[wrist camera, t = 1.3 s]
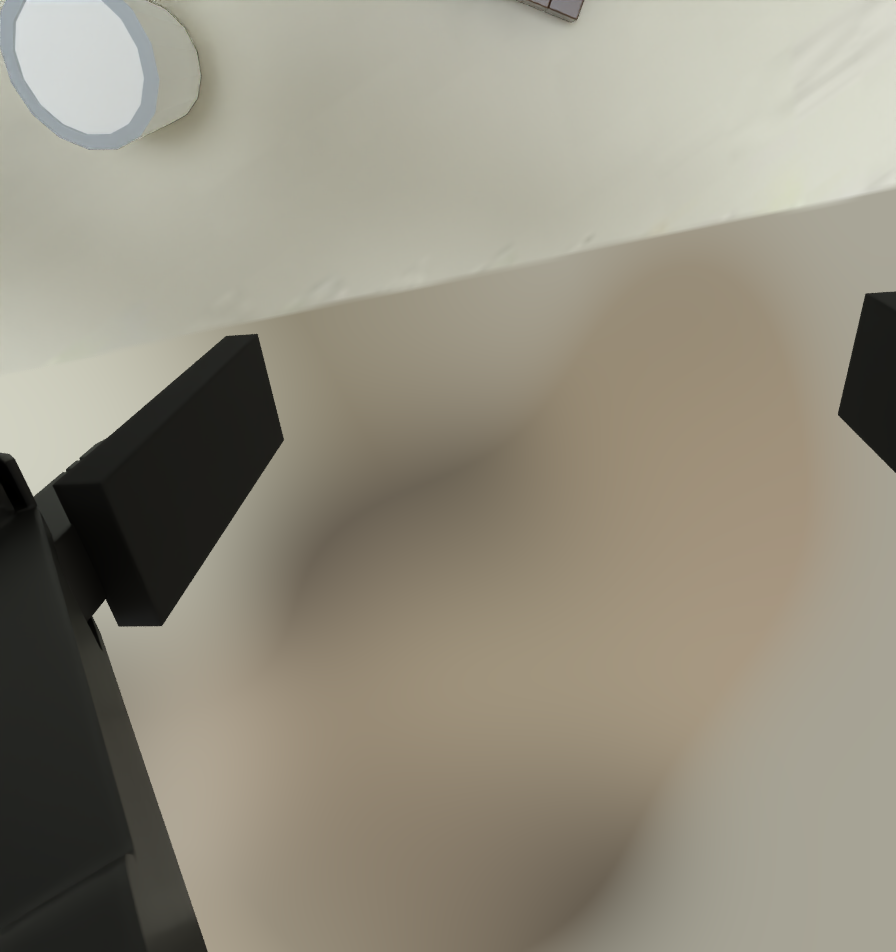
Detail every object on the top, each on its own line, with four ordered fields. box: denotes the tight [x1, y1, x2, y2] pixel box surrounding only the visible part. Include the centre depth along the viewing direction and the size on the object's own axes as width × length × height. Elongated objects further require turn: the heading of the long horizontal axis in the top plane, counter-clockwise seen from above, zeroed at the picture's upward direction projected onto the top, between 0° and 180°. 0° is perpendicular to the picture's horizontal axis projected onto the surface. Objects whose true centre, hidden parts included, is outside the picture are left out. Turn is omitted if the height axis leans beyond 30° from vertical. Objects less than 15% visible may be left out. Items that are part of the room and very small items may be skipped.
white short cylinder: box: [0, 0, 201, 150], centre depth 31 cm, size 7×7×7 cm
